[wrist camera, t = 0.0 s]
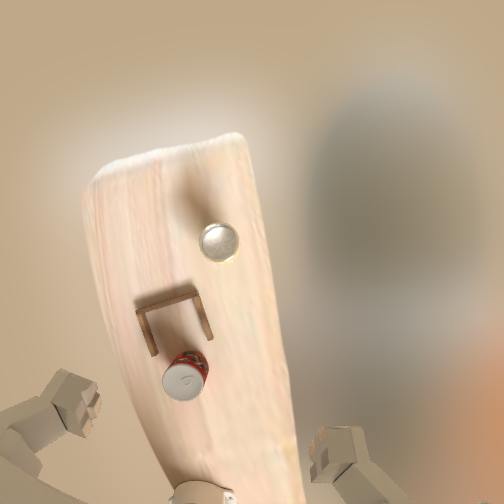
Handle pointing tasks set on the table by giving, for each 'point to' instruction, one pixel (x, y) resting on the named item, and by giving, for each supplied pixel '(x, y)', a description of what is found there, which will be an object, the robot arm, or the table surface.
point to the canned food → (186, 376)
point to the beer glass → (219, 243)
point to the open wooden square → (142, 311)
